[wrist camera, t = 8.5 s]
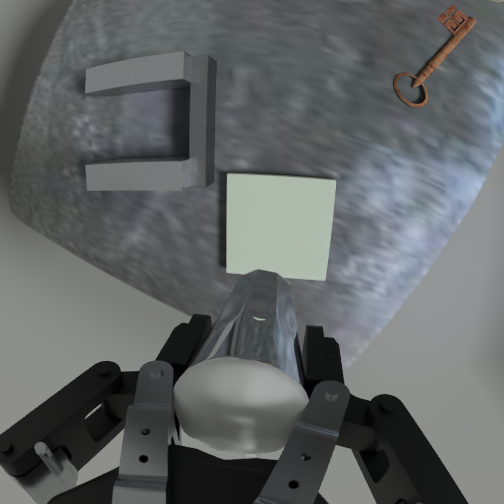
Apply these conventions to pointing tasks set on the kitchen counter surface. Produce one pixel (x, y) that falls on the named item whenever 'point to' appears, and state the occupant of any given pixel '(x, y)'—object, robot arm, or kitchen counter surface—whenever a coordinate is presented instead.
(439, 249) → the kitchen counter surface
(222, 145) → the kitchen counter surface
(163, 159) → the grey u-shaped bracket
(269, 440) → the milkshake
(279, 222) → the mat
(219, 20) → the kitchen counter surface
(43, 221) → the kitchen counter surface
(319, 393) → the robot arm
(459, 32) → the key
